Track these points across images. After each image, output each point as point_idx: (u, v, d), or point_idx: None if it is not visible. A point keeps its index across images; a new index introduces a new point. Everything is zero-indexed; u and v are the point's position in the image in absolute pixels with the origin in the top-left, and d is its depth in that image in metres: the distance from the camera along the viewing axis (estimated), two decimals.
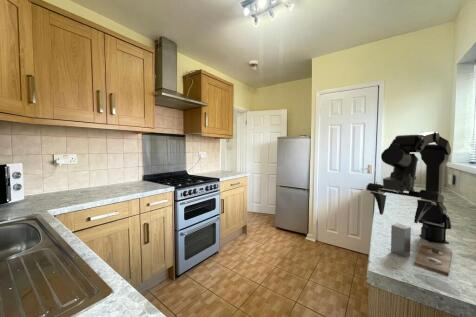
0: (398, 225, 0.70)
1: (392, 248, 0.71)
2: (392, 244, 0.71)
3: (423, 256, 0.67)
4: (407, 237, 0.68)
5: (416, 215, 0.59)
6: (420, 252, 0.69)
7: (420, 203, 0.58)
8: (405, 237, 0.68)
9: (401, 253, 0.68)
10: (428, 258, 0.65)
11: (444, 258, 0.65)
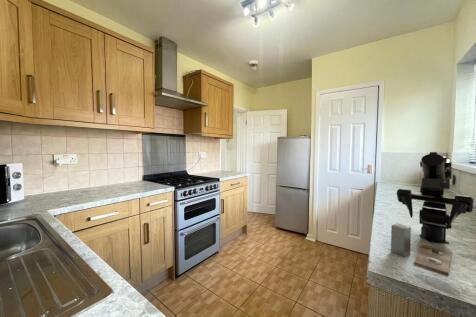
0: (398, 225, 0.70)
1: (392, 248, 0.71)
2: (392, 244, 0.71)
3: (423, 256, 0.67)
4: (407, 237, 0.68)
5: (451, 216, 0.62)
6: (420, 252, 0.69)
7: (455, 205, 0.63)
8: (405, 237, 0.68)
9: (401, 253, 0.68)
10: (428, 258, 0.65)
11: (444, 258, 0.65)
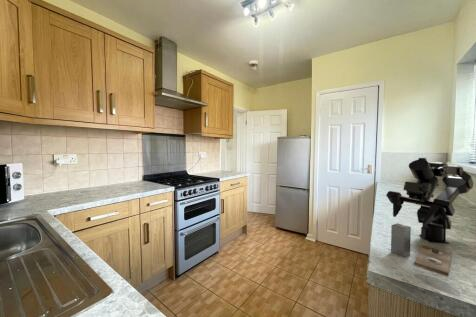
0: (398, 225, 0.71)
1: (392, 248, 0.71)
2: (392, 244, 0.71)
3: (423, 256, 0.67)
4: (407, 237, 0.68)
5: (426, 217, 0.68)
6: (420, 252, 0.69)
7: (432, 207, 0.68)
8: (405, 237, 0.68)
9: (401, 253, 0.68)
10: (428, 258, 0.65)
11: (444, 258, 0.65)
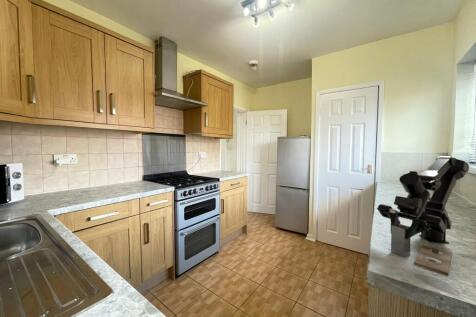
0: (398, 225, 0.71)
1: (392, 248, 0.71)
2: (392, 244, 0.71)
3: (423, 256, 0.67)
4: None
5: (408, 231, 0.68)
6: (420, 252, 0.69)
7: (414, 222, 0.67)
8: None
9: (401, 253, 0.68)
10: (428, 258, 0.65)
11: (444, 258, 0.65)
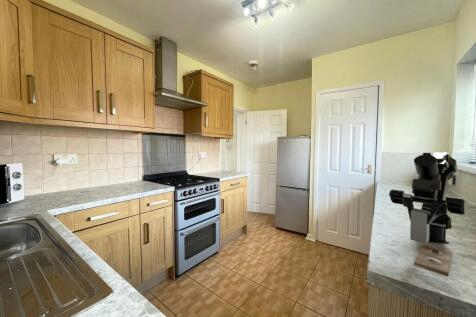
0: (417, 210, 0.66)
1: (412, 235, 0.66)
2: (412, 231, 0.66)
3: (423, 256, 0.67)
4: None
5: (430, 216, 0.63)
6: (420, 252, 0.69)
7: (435, 205, 0.63)
8: None
9: (423, 239, 0.64)
10: (428, 258, 0.65)
11: (444, 258, 0.65)
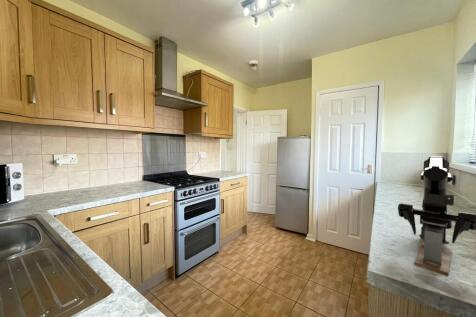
0: (430, 229, 0.64)
1: (425, 256, 0.64)
2: (425, 251, 0.64)
3: (423, 256, 0.67)
4: (441, 242, 0.62)
5: (454, 234, 0.60)
6: (420, 252, 0.69)
7: (458, 222, 0.60)
8: None
9: (437, 261, 0.62)
10: None
11: (444, 258, 0.65)
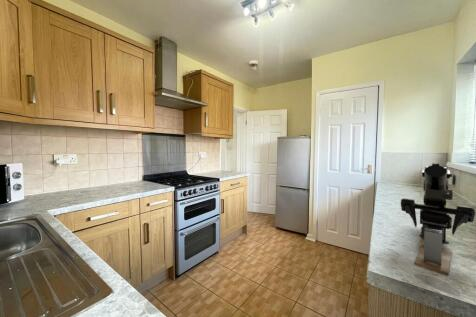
0: (430, 230, 0.64)
1: (425, 256, 0.64)
2: (425, 252, 0.63)
3: (423, 256, 0.67)
4: (441, 242, 0.62)
5: (454, 226, 0.65)
6: (420, 252, 0.69)
7: (458, 215, 0.65)
8: (441, 242, 0.61)
9: (437, 261, 0.62)
10: None
11: (444, 258, 0.65)
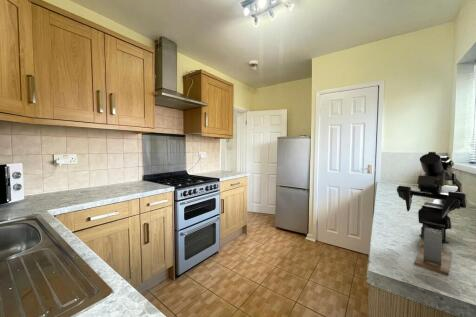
0: (429, 229, 0.64)
1: (425, 256, 0.64)
2: (425, 252, 0.63)
3: (423, 256, 0.67)
4: (441, 242, 0.62)
5: (443, 210, 0.68)
6: (420, 252, 0.69)
7: (448, 200, 0.68)
8: (441, 242, 0.61)
9: (437, 261, 0.62)
10: None
11: (444, 258, 0.65)
